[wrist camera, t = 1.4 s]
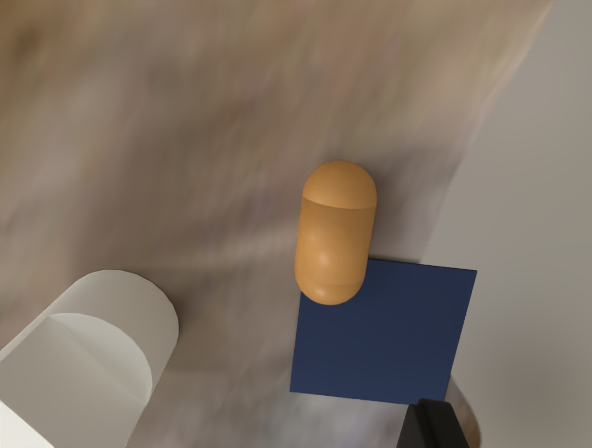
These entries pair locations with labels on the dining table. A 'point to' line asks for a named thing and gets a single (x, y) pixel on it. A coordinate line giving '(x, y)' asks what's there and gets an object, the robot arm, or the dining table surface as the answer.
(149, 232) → the dining table surface
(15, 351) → the base with upright slab
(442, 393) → the napkin
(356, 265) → the bread roll
